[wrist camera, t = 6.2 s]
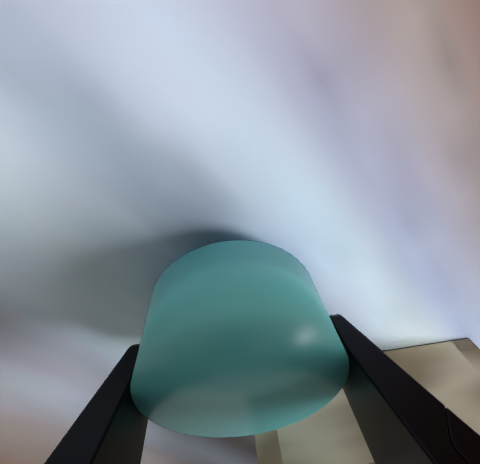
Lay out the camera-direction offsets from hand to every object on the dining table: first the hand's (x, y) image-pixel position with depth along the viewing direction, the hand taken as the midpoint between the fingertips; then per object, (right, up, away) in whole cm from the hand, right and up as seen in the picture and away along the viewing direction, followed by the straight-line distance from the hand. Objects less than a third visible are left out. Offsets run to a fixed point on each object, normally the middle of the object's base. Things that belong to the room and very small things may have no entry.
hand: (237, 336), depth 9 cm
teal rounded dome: (0, +1, +1) cm, 1 cm away
